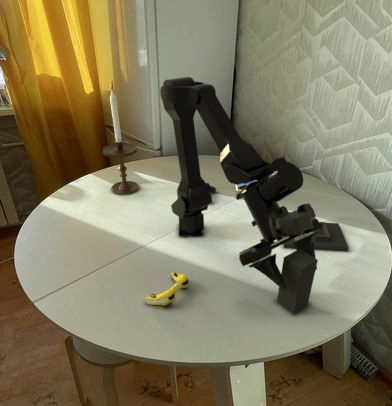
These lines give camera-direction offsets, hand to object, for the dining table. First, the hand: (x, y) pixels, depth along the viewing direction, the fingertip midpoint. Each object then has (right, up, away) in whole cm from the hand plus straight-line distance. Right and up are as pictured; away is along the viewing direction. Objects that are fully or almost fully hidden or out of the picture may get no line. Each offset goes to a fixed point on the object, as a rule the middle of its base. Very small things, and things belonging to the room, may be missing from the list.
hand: (300, 279), depth 70 cm
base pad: (+11, +8, +26) cm, 29 cm away
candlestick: (-45, +25, +52) cm, 73 cm away
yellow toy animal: (-26, -4, +7) cm, 28 cm away
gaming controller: (-18, +21, +46) cm, 54 cm away
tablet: (-1, +28, +56) cm, 63 cm away
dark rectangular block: (0, -6, +5) cm, 7 cm away
